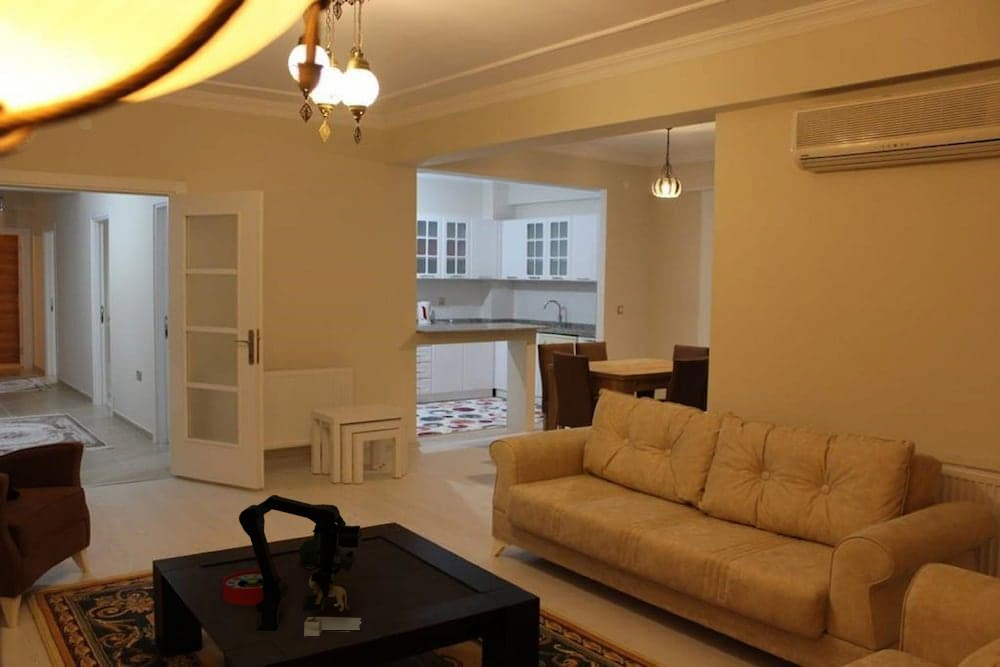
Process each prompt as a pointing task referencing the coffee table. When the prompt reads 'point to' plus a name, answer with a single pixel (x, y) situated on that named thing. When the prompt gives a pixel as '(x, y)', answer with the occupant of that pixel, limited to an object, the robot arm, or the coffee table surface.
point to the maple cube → (313, 626)
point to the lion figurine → (330, 594)
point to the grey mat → (340, 623)
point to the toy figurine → (310, 551)
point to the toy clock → (244, 587)
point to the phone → (313, 604)
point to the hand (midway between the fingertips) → (327, 594)
